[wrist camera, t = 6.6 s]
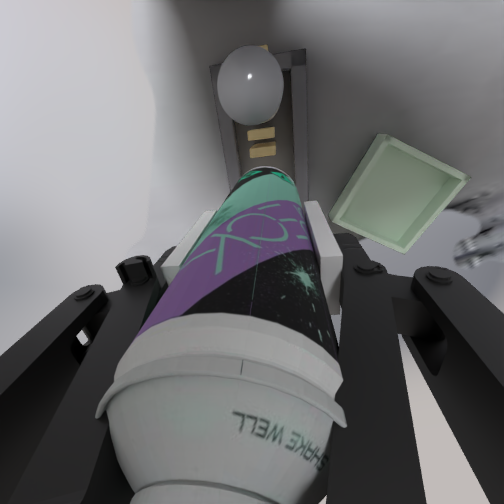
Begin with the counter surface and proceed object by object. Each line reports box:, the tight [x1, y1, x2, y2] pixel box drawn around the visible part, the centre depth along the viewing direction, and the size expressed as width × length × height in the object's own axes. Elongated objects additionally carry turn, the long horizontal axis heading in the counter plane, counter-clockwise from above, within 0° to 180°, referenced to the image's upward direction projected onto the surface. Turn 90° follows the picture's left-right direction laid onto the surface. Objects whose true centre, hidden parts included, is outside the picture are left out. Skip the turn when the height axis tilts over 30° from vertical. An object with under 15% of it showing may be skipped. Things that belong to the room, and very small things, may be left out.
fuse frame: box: [210, 45, 309, 214], centre depth 27 cm, size 23×9×6 cm, turn 7°
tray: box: [328, 133, 471, 254], centre depth 28 cm, size 10×10×2 cm
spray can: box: [95, 166, 347, 504], centre depth 11 cm, size 6×6×20 cm
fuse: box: [217, 45, 284, 125], centre depth 20 cm, size 4×4×12 cm
